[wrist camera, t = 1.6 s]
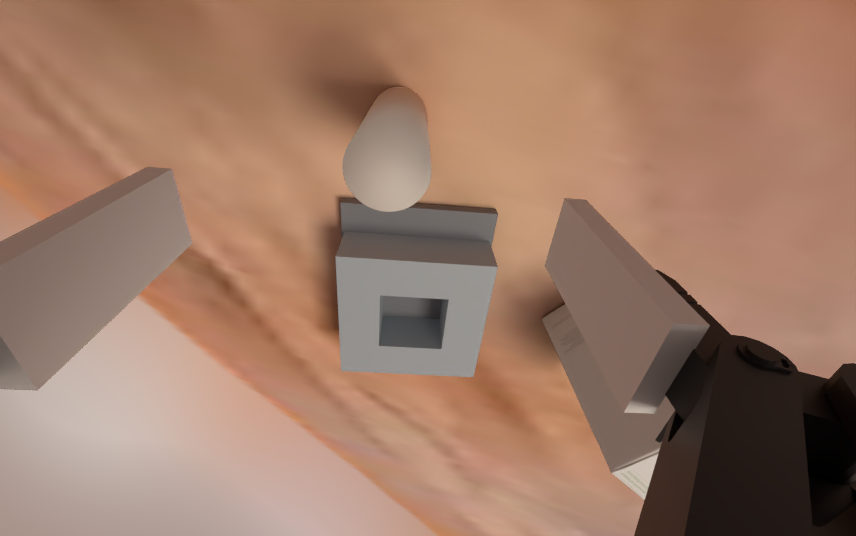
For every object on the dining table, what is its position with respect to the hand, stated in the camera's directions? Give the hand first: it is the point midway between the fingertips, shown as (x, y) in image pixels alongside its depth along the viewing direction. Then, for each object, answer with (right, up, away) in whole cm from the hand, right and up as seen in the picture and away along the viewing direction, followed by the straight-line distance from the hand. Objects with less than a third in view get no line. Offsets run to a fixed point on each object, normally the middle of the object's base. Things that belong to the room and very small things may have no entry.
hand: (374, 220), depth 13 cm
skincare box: (+18, -7, +25) cm, 32 cm away
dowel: (0, +9, +14) cm, 17 cm away
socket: (0, -4, +22) cm, 22 cm away
